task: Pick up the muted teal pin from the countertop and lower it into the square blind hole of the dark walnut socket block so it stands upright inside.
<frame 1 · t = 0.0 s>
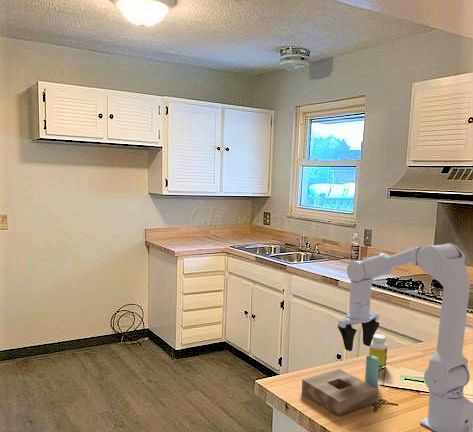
hand: (357, 347, 133), 10 cm above the worktop, tool pointing down, fingers open, 7 cm apart
teal pin: (371, 384, 131), on the worktop
socket block: (338, 398, 123), on the worktop
supplement bottle: (377, 366, 145), on the worktop
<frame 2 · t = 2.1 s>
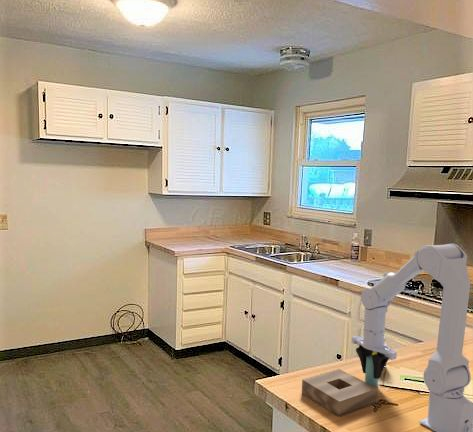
hand: (371, 375, 131), 3 cm above the worktop, tool pointing down, fingers closed on teal pin, 3 cm apart
teal pin: (371, 384, 131), on the worktop, touching gripper
everything else where it was.
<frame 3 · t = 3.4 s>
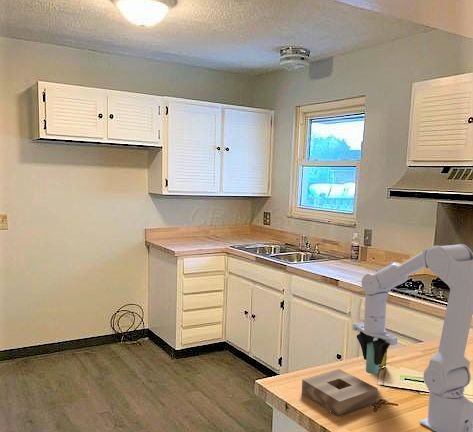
hand: (372, 361, 131), 7 cm above the worktop, tool pointing down, fingers closed on teal pin, 3 cm apart
teal pin: (372, 371, 131), point 4 cm above the worktop, touching gripper
everything else where it was.
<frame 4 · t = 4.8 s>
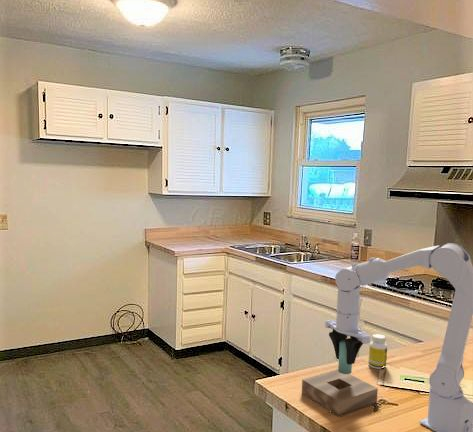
hand: (345, 360, 123), 10 cm above the worktop, tool pointing down, fingers closed on teal pin, 3 cm apart
teal pin: (344, 371, 124), point 7 cm above the worktop, touching gripper
everything else where it was.
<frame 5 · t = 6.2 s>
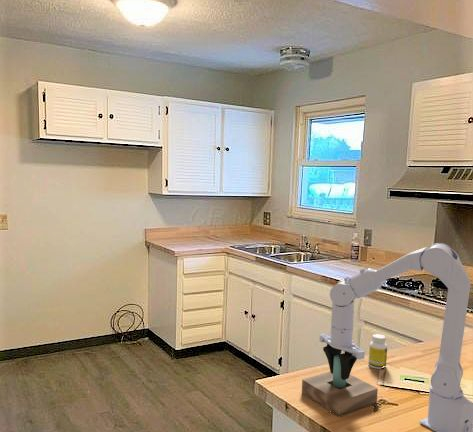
hand: (339, 375, 123), 6 cm above the worktop, tool pointing down, fingers closed on teal pin, 3 cm apart
teal pin: (339, 386, 123), point 3 cm above the worktop, touching gripper
everything else where it was.
when the fingers open (5 cm above the worktop, at t = 7.4 s): teal pin drops 1 cm, resting on socket block.
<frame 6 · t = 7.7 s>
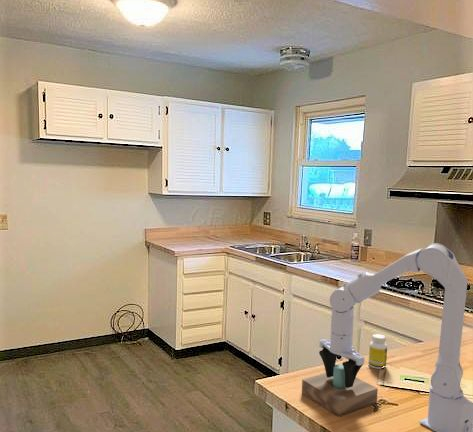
hand: (339, 381, 123), 5 cm above the worktop, tool pointing down, fingers open, 6 cm apart
teal pin: (338, 396, 123), point 1 cm above the worktop, touching socket block
everything else where it was.
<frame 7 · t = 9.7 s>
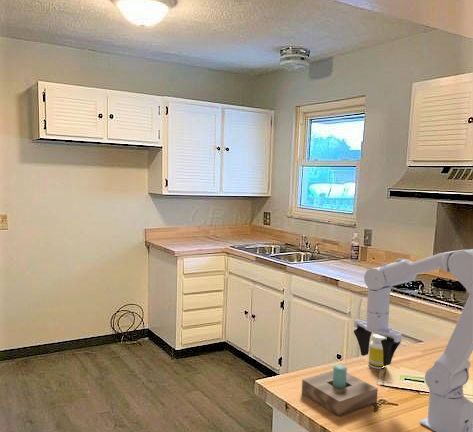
hand: (375, 359, 125), 10 cm above the worktop, tool pointing down, fingers open, 7 cm apart
nothing on the worktop moved.
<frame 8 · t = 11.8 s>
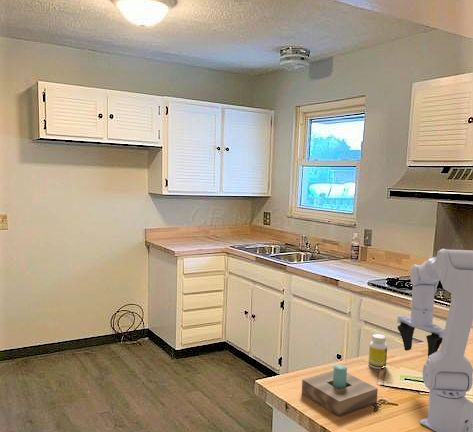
hand: (419, 354, 129), 10 cm above the worktop, tool pointing down, fingers open, 7 cm apart
nothing on the worktop moved.
at the end: teal pin 0.0 cm off-centre on the socket block, point 0.5 cm above the socket block's base; teal pin tilted 1°; the gripper is holding nothing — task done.
